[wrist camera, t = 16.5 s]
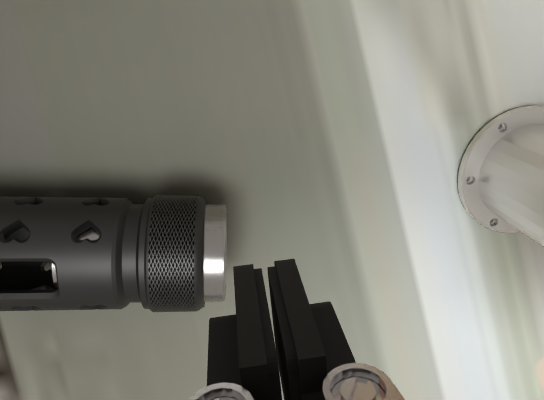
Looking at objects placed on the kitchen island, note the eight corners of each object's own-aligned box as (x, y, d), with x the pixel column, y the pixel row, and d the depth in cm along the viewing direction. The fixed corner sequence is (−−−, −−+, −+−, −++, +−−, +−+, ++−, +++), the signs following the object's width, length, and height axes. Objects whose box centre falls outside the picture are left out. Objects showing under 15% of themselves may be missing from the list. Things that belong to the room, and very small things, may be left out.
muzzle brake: (-108, 172, 38) (-219, 219, 28) (225, 178, 41) (227, 222, 32) (-84, 272, 41) (-176, 344, 32) (223, 269, 45) (225, 335, 35)
